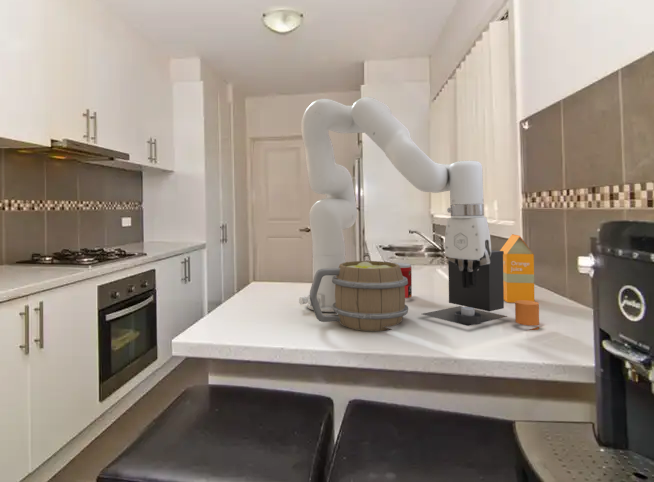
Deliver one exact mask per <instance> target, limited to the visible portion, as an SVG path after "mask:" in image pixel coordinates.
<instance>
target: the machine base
mask: <svg viewBox="0 0 654 482" xmlns="http://www.w3.org/2000/svg"><path fill="white" fill-rule="evenodd" d="M462 307H463V306H462V305H458V306H453V307H448V308H443V309H438V310H433V311H429V312H423V313H422V315H423V316H427V317H431V318H435V319H439V320H444V321H447V322H451V323H454V324H459V325H463V326H467V327H470V326H474V325H480V324H482V323H486V322H491V321H495V320H499V319H503V318H507V317H508V316H507V315H504V314H499V313H494V312H491V311H485V310H481V309H476V308H474V309H475V315H474V316H467V315H462V314H461V308H462Z"/></svg>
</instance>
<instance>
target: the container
mask: <svg viewBox="0 0 654 482" xmlns="http://www.w3.org/2000/svg"><path fill="white" fill-rule="evenodd" d="M514 315H515V316H514V318H515V319H514V320H515V321H514V322H515V323H516V324H519V325H522V326H523V325H524V326H536V327H532V328H529V329H528V331H538V330H540V326H539V325H540V303H539V302H538V301H535V302H534V301H527V300H518V301H515V304H514Z"/></svg>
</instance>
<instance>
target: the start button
mask: <svg viewBox="0 0 654 482" xmlns="http://www.w3.org/2000/svg"><path fill="white" fill-rule="evenodd" d="M475 309H476V308H472V307H466V306H462V308H461V314H462V315H467V316H474V315H475Z"/></svg>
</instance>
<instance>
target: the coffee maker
mask: <svg viewBox="0 0 654 482" xmlns="http://www.w3.org/2000/svg"><path fill="white" fill-rule="evenodd" d="M503 254H504V251H500V250H495V249H491V256H490V257H489V258H490V264H487V265H482V266H481V267H480V268H479V270H478V271H477V284H476V287H475V288H463V286H462V271H460V270H459V267H458V265H457V264H456V263H454V262H451V261H449V257H448V256H447V260H448V261H447V262H448V264H447V265H448V269H447V271H448V303H449V304H452V305H458V306H462V307H472V308H474V309H476V310H481V311H485V312H493V311H498V310H502V309H505V300H504V286H503ZM481 259H482V258H480V260H481ZM463 261H464V260H463Z"/></svg>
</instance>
